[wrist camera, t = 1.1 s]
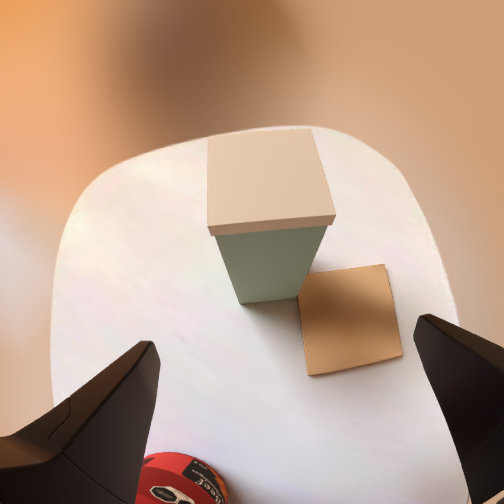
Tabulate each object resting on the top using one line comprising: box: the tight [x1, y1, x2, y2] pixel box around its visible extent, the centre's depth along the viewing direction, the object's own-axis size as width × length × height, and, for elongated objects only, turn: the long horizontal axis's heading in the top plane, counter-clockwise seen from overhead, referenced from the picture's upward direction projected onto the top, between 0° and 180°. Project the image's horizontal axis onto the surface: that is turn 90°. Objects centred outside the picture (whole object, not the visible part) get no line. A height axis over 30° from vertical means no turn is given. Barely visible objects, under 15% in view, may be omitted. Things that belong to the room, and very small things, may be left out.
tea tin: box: [207, 129, 336, 304], centre depth 17 cm, size 5×5×13 cm
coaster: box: [297, 264, 402, 375], centre depth 21 cm, size 8×8×1 cm
